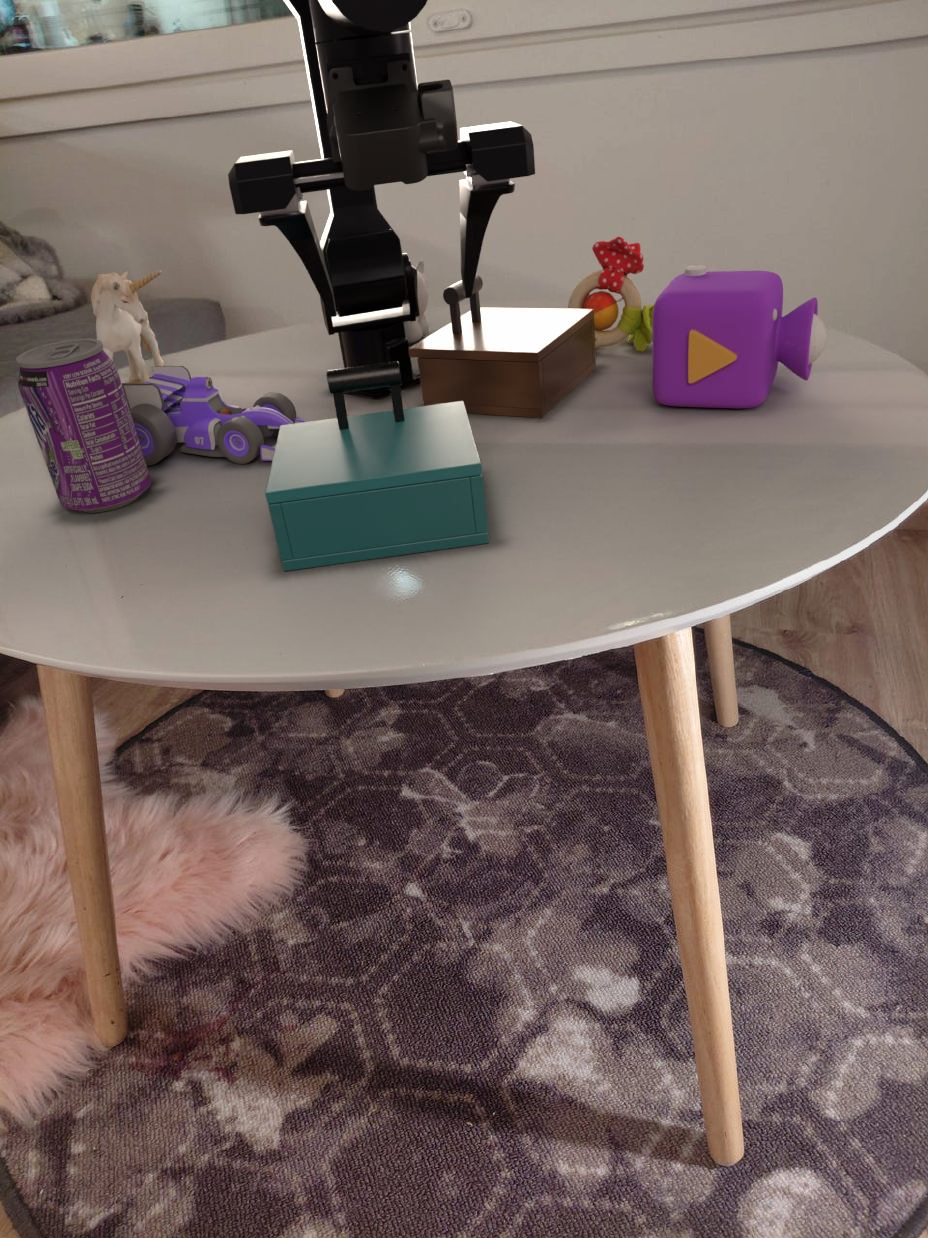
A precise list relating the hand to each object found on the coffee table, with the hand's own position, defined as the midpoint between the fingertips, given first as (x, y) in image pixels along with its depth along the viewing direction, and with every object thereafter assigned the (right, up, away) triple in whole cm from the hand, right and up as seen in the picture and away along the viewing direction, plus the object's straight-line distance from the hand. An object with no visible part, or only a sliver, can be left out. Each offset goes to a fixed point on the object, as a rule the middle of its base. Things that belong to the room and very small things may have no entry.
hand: (401, 306), depth 64 cm
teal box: (-1, -14, +3) cm, 15 cm away
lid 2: (+8, +4, +22) cm, 24 cm away
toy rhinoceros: (-2, +11, +45) cm, 46 cm away
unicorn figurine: (-27, +3, +36) cm, 45 cm away
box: (+9, 0, +24) cm, 26 cm away
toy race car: (-17, -6, +19) cm, 26 cm away
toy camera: (+27, -2, +17) cm, 32 cm away
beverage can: (-24, -12, +12) cm, 29 cm away
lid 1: (-2, -10, 0) cm, 10 cm away
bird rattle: (+20, +6, +31) cm, 37 cm away
